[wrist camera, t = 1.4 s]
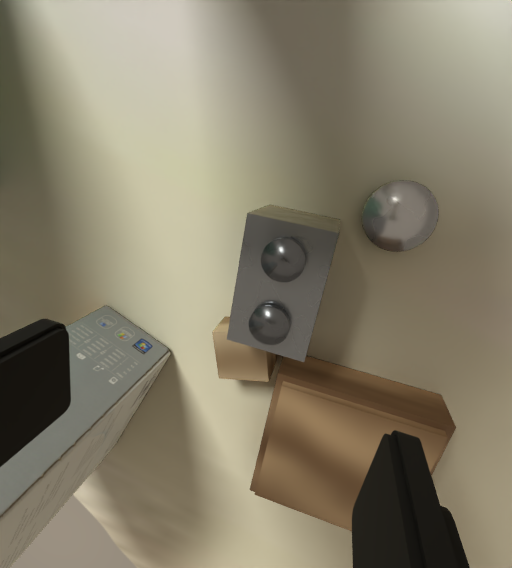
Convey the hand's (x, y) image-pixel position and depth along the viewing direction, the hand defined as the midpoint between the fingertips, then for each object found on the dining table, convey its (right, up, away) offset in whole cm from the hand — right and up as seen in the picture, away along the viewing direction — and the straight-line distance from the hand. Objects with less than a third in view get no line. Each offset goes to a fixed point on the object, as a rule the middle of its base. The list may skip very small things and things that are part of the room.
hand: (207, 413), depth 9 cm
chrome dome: (+11, +8, +12) cm, 18 cm away
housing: (+4, +5, +15) cm, 16 cm away
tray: (+8, -9, +18) cm, 22 cm away
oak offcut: (+1, -1, +18) cm, 18 cm away
